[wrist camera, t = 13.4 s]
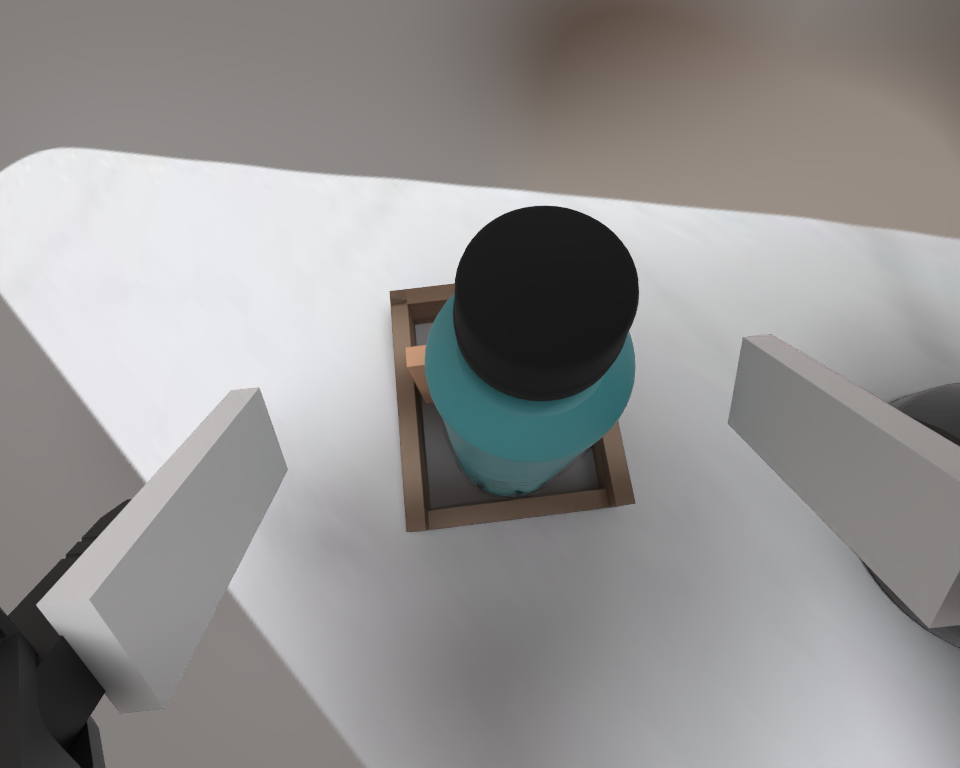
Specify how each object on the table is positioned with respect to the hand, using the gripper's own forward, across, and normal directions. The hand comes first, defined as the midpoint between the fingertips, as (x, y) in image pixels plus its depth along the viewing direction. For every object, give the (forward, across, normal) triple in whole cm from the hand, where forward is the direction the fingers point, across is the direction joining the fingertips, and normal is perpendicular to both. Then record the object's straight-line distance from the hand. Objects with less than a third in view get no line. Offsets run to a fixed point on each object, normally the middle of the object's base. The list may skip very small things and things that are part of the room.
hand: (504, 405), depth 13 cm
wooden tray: (+15, +1, -9) cm, 17 cm away
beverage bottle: (+12, +1, -10) cm, 16 cm away
